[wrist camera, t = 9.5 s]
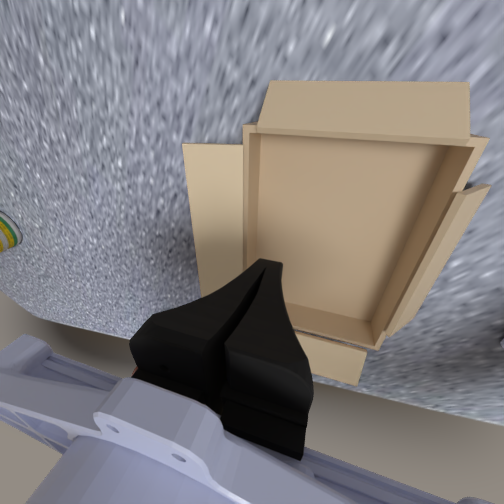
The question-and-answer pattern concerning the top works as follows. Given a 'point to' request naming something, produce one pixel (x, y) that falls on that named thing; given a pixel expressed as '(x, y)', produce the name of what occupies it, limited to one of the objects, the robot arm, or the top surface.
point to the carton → (358, 198)
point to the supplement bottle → (8, 233)
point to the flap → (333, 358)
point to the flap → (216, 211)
